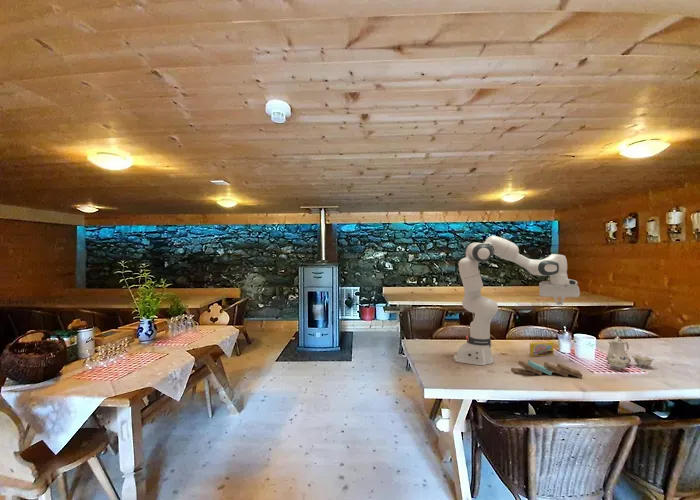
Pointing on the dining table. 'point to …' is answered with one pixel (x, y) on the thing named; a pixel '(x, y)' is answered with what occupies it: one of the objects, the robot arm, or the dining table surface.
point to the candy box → (541, 349)
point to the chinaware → (623, 356)
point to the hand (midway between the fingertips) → (559, 304)
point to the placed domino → (539, 367)
